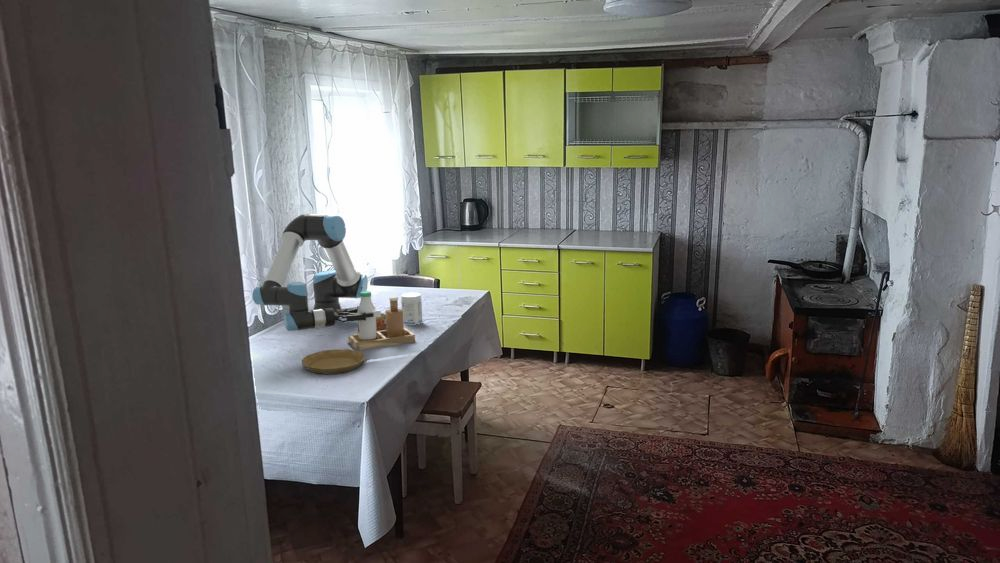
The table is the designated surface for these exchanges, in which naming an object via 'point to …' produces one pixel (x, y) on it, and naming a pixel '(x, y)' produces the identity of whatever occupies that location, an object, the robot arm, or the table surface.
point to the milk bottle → (369, 326)
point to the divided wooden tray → (380, 340)
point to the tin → (381, 322)
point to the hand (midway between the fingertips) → (377, 311)
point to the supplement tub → (411, 308)
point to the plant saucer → (333, 361)
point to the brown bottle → (394, 319)
